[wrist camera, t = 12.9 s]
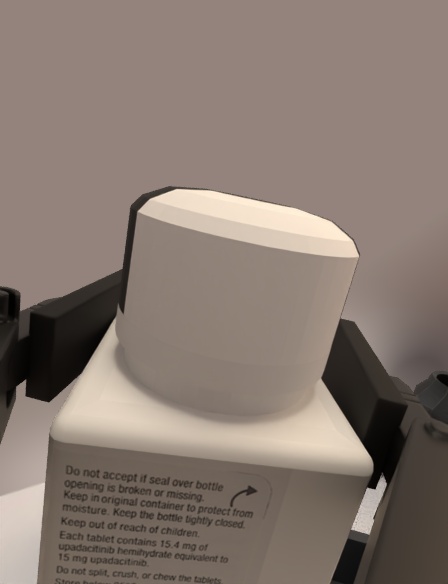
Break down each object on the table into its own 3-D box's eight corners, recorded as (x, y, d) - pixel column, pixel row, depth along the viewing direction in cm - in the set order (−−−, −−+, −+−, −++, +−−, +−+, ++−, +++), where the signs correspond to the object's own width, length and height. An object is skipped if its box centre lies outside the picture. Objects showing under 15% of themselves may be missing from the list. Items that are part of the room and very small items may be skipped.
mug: (424, 441, 47) (457, 364, 43) (490, 501, 38) (536, 411, 35) (346, 443, 43) (375, 359, 40) (400, 510, 35) (442, 410, 31)
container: (99, 457, 17) (136, 172, 13) (257, 474, 18) (330, 214, 14) (25, 667, 10) (64, 162, 6) (300, 677, 11) (470, 247, 7)
